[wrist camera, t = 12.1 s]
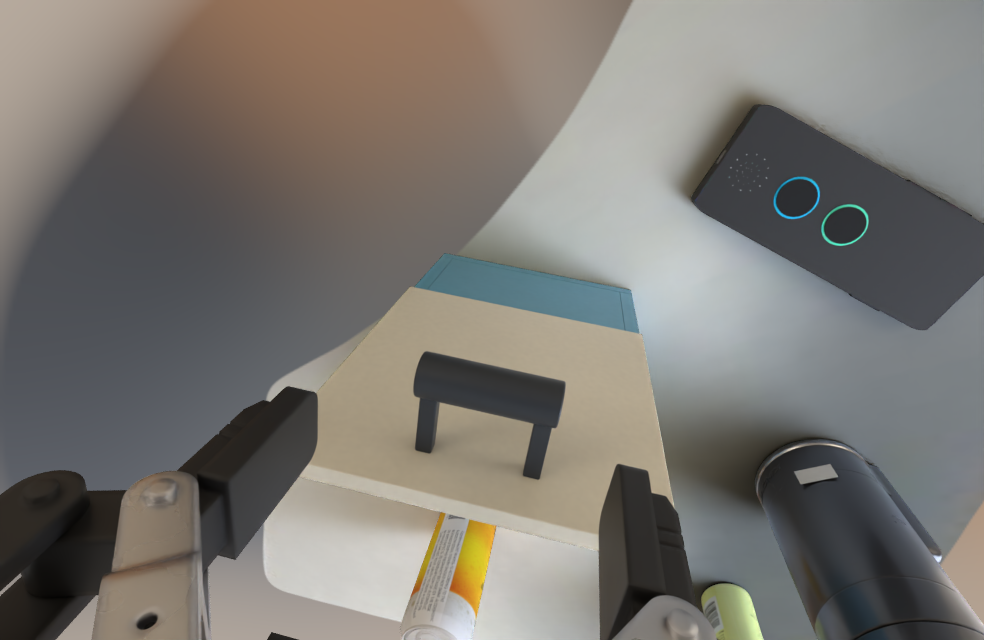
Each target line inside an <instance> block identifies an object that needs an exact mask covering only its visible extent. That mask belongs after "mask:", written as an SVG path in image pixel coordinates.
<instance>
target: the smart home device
mask: <svg viewBox="0 0 984 640" xmlns="http://www.w3.org/2000/svg"><path fill="white" fill-rule="evenodd" d="M691 200H692V202H693V203H694V204H695V205H696V207H697V208H698V209H699V210H700V211H702V212H703V213H705V214H706V215H708V216H710V217H712V218H713V219H715V220H717V221H719V222H721V223H722V224H724V225H726V226H728V227H730V228H732V229H733V230H735V231H737V232H739V233H741V234H742V235H744V236H746V237H748V238H750V239H751V240H753V241H755V242H757V243H759V244H761V245H762V246H764V247H766V248H768V249H770V250H771V251H773V252H775V253H777V254H779V255H780V256H782V257H784V258H786V259H788V260H790V261H791V262H793V263H795V264H797V265H799V266H800V267H802V268H804V269H806V270H808V271H809V272H811V273H813V274H815V275H817V276H818V277H820V278H822V279H824V280H826V281H828V282H829V283H831V284H833V285H835V286H837V287H838V288H840V289H842V290H844V291H846V292H847V293H848V294H849V295H850V296H852V297H854V298H855V299H857V300H859V301H861V302H863V303H864V304H866V305H868V306H870V307H872V308H873V309H875V310H877V311H882V312H884V313H886V314H887V315H889V316H891V317H893V318H895V319H896V320H898V321H900V322H902V323H904V324H905V325H907V326H909V327H911V328H914V329H917V330H927V329H928V328H929V327H930V326H932V325H933V324H934V323H935V322H936V321H937V320H938V319H939V318H940V317H941V316H942V315H943V314H944V313H945V312H946V311H947V310H948V309H949V308H950V307H951V306H952V305H953V304H954V303H955V302H956V301H957V300H959V299H960V298H961V297H962V296H963V295H964V294H965V293H966V292H967V291H968V290H969V289H970V288H971V287H972V286H973V285H974V284H975V283H976V282H977V281H978V280H979V279H980V278H981V277H982V276H983V275H984V224H982V223H981V222H979V221H977V220H975V219H973V218H972V217H971V216H972V215H970V214H968V213H966V212H965V211H963V210H961V209H959V208H958V207H956V206H954V205H952V204H950V203H949V202H947V201H945V200H943V199H941V198H940V197H938V196H936V195H934V194H933V193H931V192H929V191H927V190H926V189H924V188H922V187H920V186H918V185H917V184H915V183H913V182H911V181H910V180H906V179H905V180H904V179H903V178H901V177H899V176H897V175H896V174H894V173H892V172H890V171H888V170H887V169H885V168H883V167H881V166H880V165H878V164H876V163H874V162H872V161H871V160H869V159H867V158H865V157H864V156H862V155H860V154H858V153H857V152H855V151H853V150H851V149H849V148H848V147H846V146H844V145H842V144H841V143H839V142H837V141H835V140H834V139H832V138H830V137H828V136H826V135H825V134H823V133H821V132H819V131H818V130H816V129H814V128H812V127H810V126H809V125H807V124H805V123H803V122H802V121H800V120H798V119H796V118H795V117H793V116H791V115H789V114H787V113H786V112H784V111H782V110H780V109H778V108H776V107H774V106H770V105H760V104H758V105H754V106H753V107H752V108H751V110H750V111H749V113H748V114H747V116H746V117H745V119H744V120H743V121H742V123H741V124H740V126H739V127H738V129H737V130H736V132H735V133H734V135H733V136H732V138H731V139H730V141H729V142H728V144H727V145H726V147H725V148H724V149H723V151H722V152H721V154H720V155H719V157H718V158H717V160H716V161H715V163H714V164H713V166H712V167H711V169H710V170H709V172H708V173H707V174H706V176H705V177H704V179H703V180H702V182H701V183H700V185H699V186H698V188H697V189H696V191H695V192H694V194H693V195H692V197H691Z"/></svg>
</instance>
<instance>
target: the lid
mask: <svg viewBox="0 0 984 640" xmlns="http://www.w3.org/2000/svg"><path fill="white" fill-rule="evenodd" d="M316 394H317V397H318V440H317V446H316V450H315V452H314V455H313V457H312V459H311V461H310V462H309V464H308V465H307V466H306V468H305V469H304V470H303V472H302V473H301V474H300V475H299V477H301V478H305V479H309V480H313V481H317V482H321V483H326V484H330V485H334V486H338V487H342V488H346V489H350V490H354V491H358V492H362V493H366V494H370V495H374V496H378V497H382V498H386V499H390V500H394V501H398V502H402V503H406V504H410V505H414V506H418V507H422V508H426V509H430V510H434V511H438V512H442V513H446V514H450V515H454V516H458V517H462V518H466V519H470V520H474V521H478V522H482V523H486V524H490V525H494V526H498V527H502V528H506V529H511V530H515V531H519V532H523V533H527V534H531V535H535V536H539V537H543V538H547V539H551V540H555V541H559V542H563V543H567V544H571V545H575V546H579V547H583V548H587V549H591V550H595V551H599V522H600V516H601V511H602V508H603V504H604V501H605V498H606V495H607V492H608V489H609V486H610V482H611V479H612V476H613V473H614V470H615V467H616V465H617V464H622V465H627V466H631V467H635V468H640V469H644V470H647V471H648V473H649V478H650V485H651V492H652V493H655V494H660V495H664V496H666V497H667V498H668V500H669V501H670V503H671V504H672V506H673V507H674V503H673V498H672V492H671V487H670V482H669V476H668V471H667V465H666V460H665V455H664V449H663V444H662V439H661V433H660V428H659V422H658V417H657V412H656V406H655V401H654V396H653V390H652V385H651V379H650V374H649V369H648V363H647V358H646V353H645V347H644V342H643V336H642V334H639V333H634V332H629V331H624V330H619V329H614V328H609V327H605V326H600V325H595V324H590V323H585V322H580V321H576V320H571V319H566V318H561V317H556V316H551V315H546V314H542V313H537V312H532V311H527V310H522V309H517V308H513V307H508V306H503V305H498V304H493V303H488V302H483V301H479V300H474V299H469V298H464V297H459V296H454V295H450V294H445V293H440V292H435V291H430V290H425V289H420V288H416V287H409V288H408V290H407V291H406V292H405V293H404V294H403V295H402V296H401V297H400V299H399V300H398V301H397V302H396V303H395V304H394V305H393V306H392V308H391V309H390V310H389V311H388V312H387V313H386V314H385V316H384V317H383V318H382V319H381V320H380V321H379V322H378V323H377V325H376V326H375V327H374V328H373V329H372V330H371V331H370V332H369V334H368V335H367V336H366V337H365V338H364V339H363V340H362V342H361V343H360V344H359V345H358V346H357V347H356V348H355V349H354V351H353V352H352V353H351V354H350V355H349V356H348V357H347V359H346V360H345V361H344V362H343V363H342V364H341V365H340V366H339V368H338V369H337V370H336V371H335V372H334V373H333V374H332V376H331V377H330V378H329V379H328V380H327V381H326V382H325V383H324V385H323V386H322V387H321V388H320V389H319V390H318V391H317V392H316ZM674 509H675V508H674Z"/></svg>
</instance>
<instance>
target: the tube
mask: <svg viewBox="0 0 984 640" xmlns="http://www.w3.org/2000/svg"><path fill="white" fill-rule="evenodd" d="M701 603H702V608H703V612H704V616H705V617H706V618H707V619H708V621H709V622H710V624H711V625H712V627H713V629H714V631H715V634H716V638H717V639H719V640H763V638H762V634H761V631H760V627H759V624H758V620H757V617H756V614H755V610H754V607H753V604H752V600H751V598H750V595H749V594H748V593H747V591H745V590H744V589H743V588H741V587H739V586H737V585H733V584H717V585H714V586H711V587H710V588H708V589H707V590H705V592H704V593H703V595H702V597H701Z"/></svg>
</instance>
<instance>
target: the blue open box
mask: <svg viewBox="0 0 984 640" xmlns="http://www.w3.org/2000/svg"><path fill="white" fill-rule="evenodd" d="M414 287H416V288H420V289H425V290H430V291H435V292H440V293H445V294H450V295H454V296H459V297H464V298H469V299H474V300H479V301H483V302H488V303H493V304H498V305H503V306H508V307H513V308H517V309H522V310H527V311H532V312H537V313H542V314H546V315H551V316H556V317H561V318H566V319H571V320H576V321H580V322H585V323H590V324H595V325H600V326H605V327H609V328H614V329H619V330H624V331H629V332H634V333H639V329H638V324H637V319H636V314H635V309H634V304H633V299H632V294H631V290H628V289H623V288H618V287H612V286H607V285H602V284H597V283H592V282H587V281H582V280H577V279H572V278H567V277H562V276H557V275H552V274H547V273H542V272H537V271H532V270H527V269H522V268H517V267H512V266H507V265H502V264H497V263H492V262H487V261H482V260H476V259H471V258H466V257H461V256H456V255H451V254H446V253H444V255H443V256H442V257H441V258H440V259H439V260H438V261H437V262H436V263H435V265H433V267H432V268H431V269H430V270H429V271H428V272H427V273H426V274H425V275H424V277H423V278H422V279H421V280H420V281H419V282H418V283H417V284H416V285H415V286H414Z"/></svg>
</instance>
